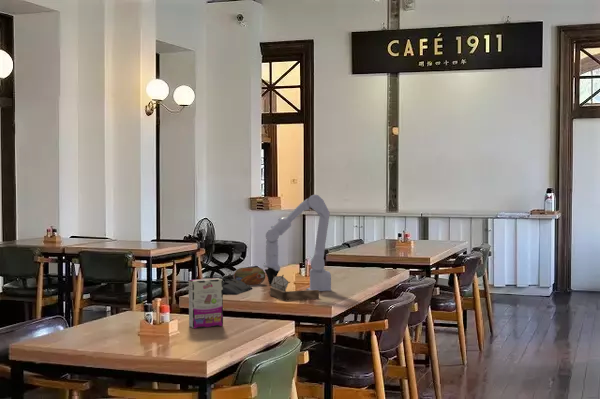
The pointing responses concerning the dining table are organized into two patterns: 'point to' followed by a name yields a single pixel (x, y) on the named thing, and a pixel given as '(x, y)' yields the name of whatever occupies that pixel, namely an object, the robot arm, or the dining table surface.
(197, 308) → the candy bar box
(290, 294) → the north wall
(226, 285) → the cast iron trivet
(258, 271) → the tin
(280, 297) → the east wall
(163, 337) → the dining table surface
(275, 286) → the game die
